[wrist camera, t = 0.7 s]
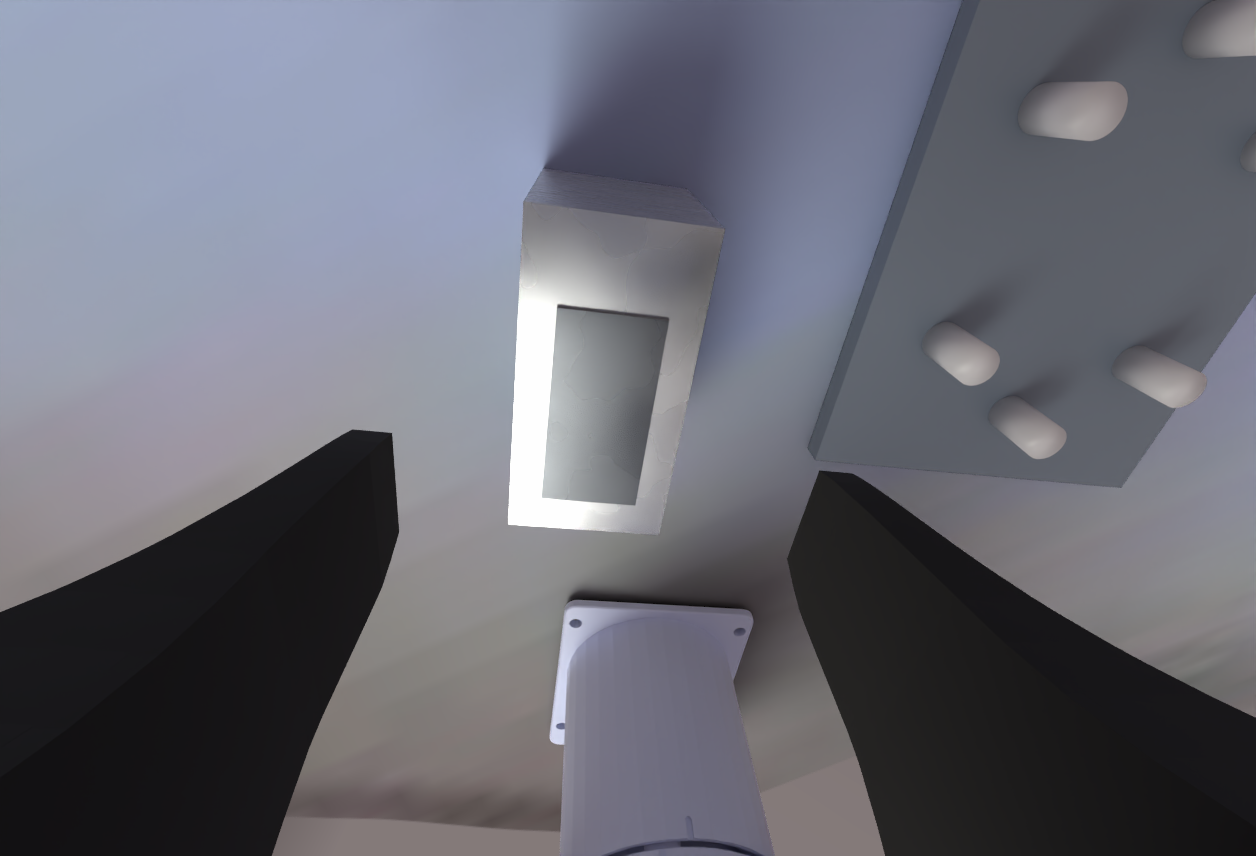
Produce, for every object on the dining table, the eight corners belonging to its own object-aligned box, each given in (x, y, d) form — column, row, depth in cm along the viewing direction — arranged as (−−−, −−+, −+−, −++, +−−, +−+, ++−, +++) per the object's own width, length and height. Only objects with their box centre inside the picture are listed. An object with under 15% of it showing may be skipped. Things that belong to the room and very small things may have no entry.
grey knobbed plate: (1104, 475, 22) (1167, 522, 20) (807, 448, 21) (836, 495, 18) (1454, -51, 14) (1628, -79, 12) (1015, -153, 13) (1112, -208, 11)
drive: (643, 430, 20) (659, 537, 16) (528, 420, 20) (507, 526, 15) (686, 188, 16) (726, 229, 12) (543, 167, 16) (523, 202, 11)
